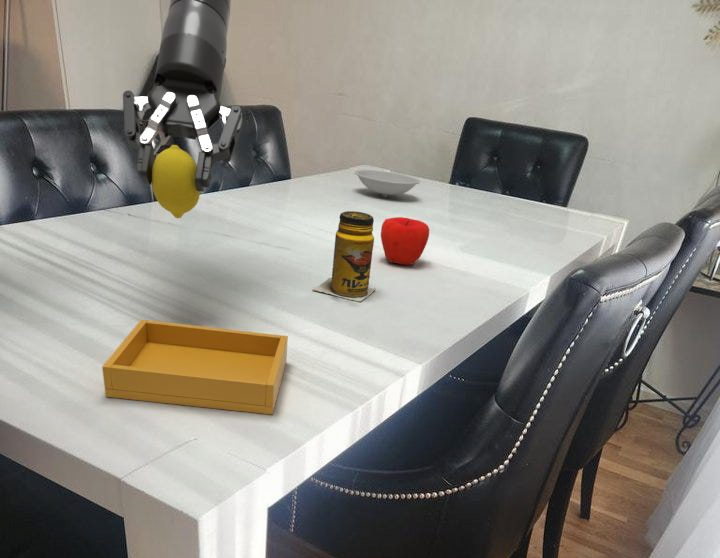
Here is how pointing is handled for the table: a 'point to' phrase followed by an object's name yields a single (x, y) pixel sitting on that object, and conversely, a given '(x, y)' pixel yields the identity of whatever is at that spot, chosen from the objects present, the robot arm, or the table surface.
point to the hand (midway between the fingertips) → (172, 183)
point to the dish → (386, 182)
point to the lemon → (175, 181)
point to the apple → (404, 239)
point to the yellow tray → (198, 367)
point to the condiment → (351, 258)
